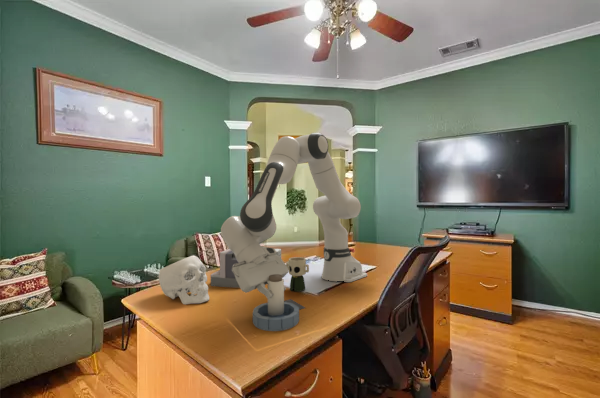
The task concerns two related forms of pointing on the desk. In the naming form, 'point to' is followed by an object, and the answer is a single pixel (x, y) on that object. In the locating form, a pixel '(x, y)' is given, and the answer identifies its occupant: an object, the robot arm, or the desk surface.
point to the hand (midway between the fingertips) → (277, 293)
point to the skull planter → (185, 280)
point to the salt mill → (276, 295)
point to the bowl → (276, 317)
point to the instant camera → (225, 271)
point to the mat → (295, 303)
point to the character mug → (297, 272)
